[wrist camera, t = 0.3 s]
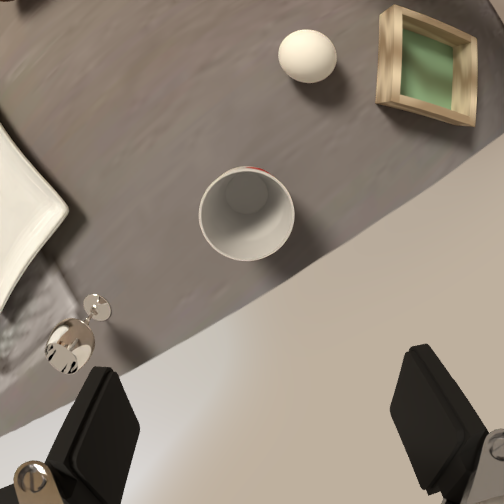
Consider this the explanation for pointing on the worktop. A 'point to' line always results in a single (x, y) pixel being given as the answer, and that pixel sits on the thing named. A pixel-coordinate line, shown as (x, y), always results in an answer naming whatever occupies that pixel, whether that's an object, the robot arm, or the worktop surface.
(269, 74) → the worktop surface
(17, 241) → the square plate
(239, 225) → the cup
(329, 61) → the ball
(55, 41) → the worktop surface
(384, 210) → the worktop surface
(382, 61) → the wooden square tray
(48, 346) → the wineglass
